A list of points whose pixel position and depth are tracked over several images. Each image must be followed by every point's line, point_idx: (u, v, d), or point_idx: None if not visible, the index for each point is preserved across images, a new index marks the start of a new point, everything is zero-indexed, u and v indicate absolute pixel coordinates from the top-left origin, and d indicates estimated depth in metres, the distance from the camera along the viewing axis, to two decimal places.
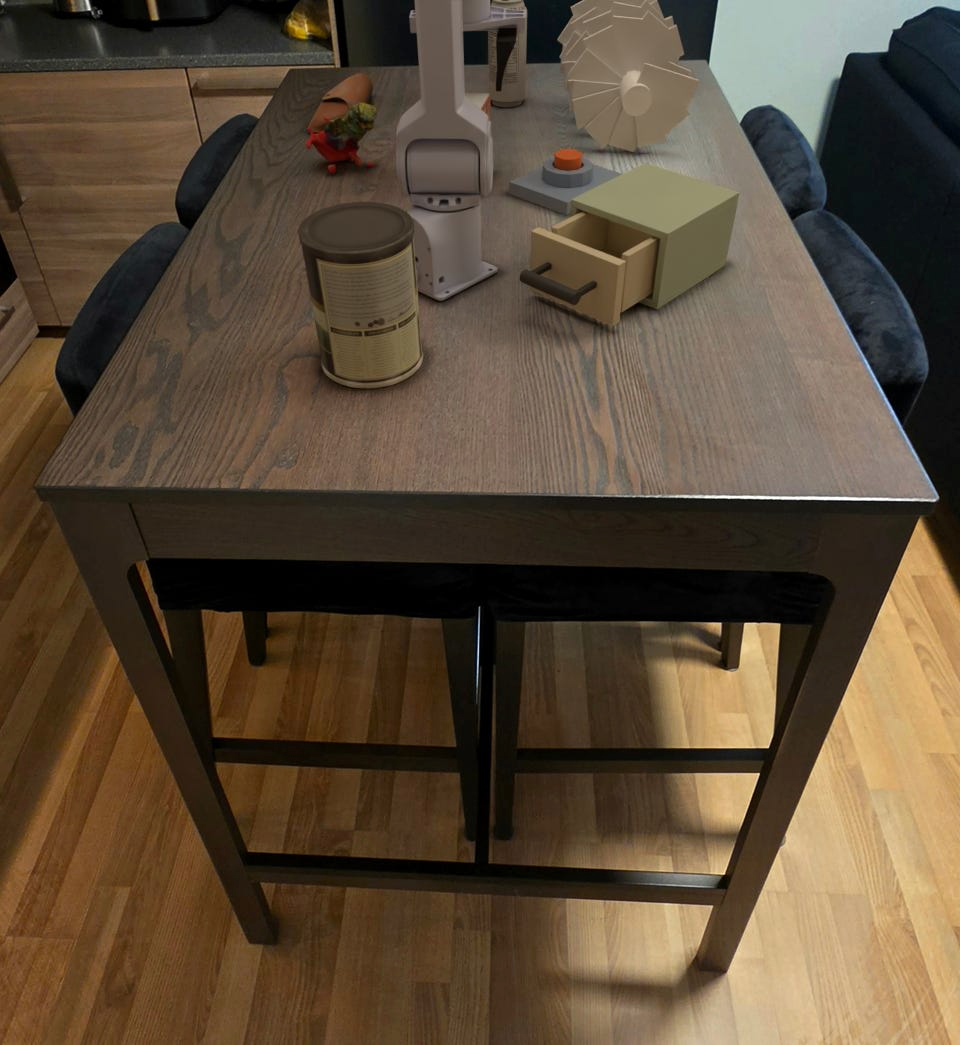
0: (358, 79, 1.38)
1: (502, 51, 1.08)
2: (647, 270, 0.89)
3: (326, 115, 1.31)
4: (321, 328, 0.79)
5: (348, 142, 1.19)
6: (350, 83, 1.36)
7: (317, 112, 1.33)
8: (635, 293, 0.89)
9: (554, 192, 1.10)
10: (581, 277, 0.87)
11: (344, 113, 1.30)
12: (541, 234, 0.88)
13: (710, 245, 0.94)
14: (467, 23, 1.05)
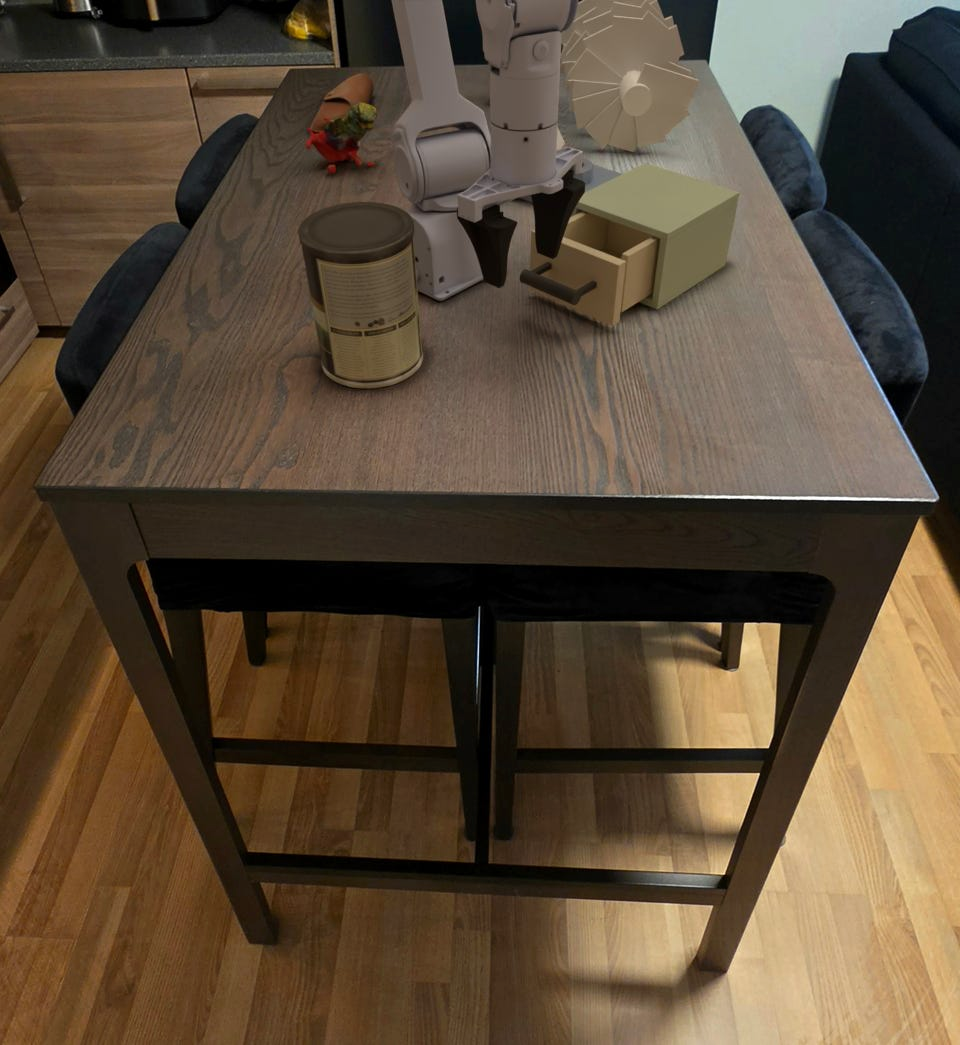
0: (359, 79, 1.38)
1: None
2: (647, 270, 0.89)
3: (328, 115, 1.31)
4: (321, 328, 0.79)
5: (348, 142, 1.19)
6: (351, 83, 1.36)
7: (319, 112, 1.33)
8: (635, 293, 0.89)
9: None
10: (581, 277, 0.87)
11: None
12: None
13: (710, 245, 0.94)
14: None
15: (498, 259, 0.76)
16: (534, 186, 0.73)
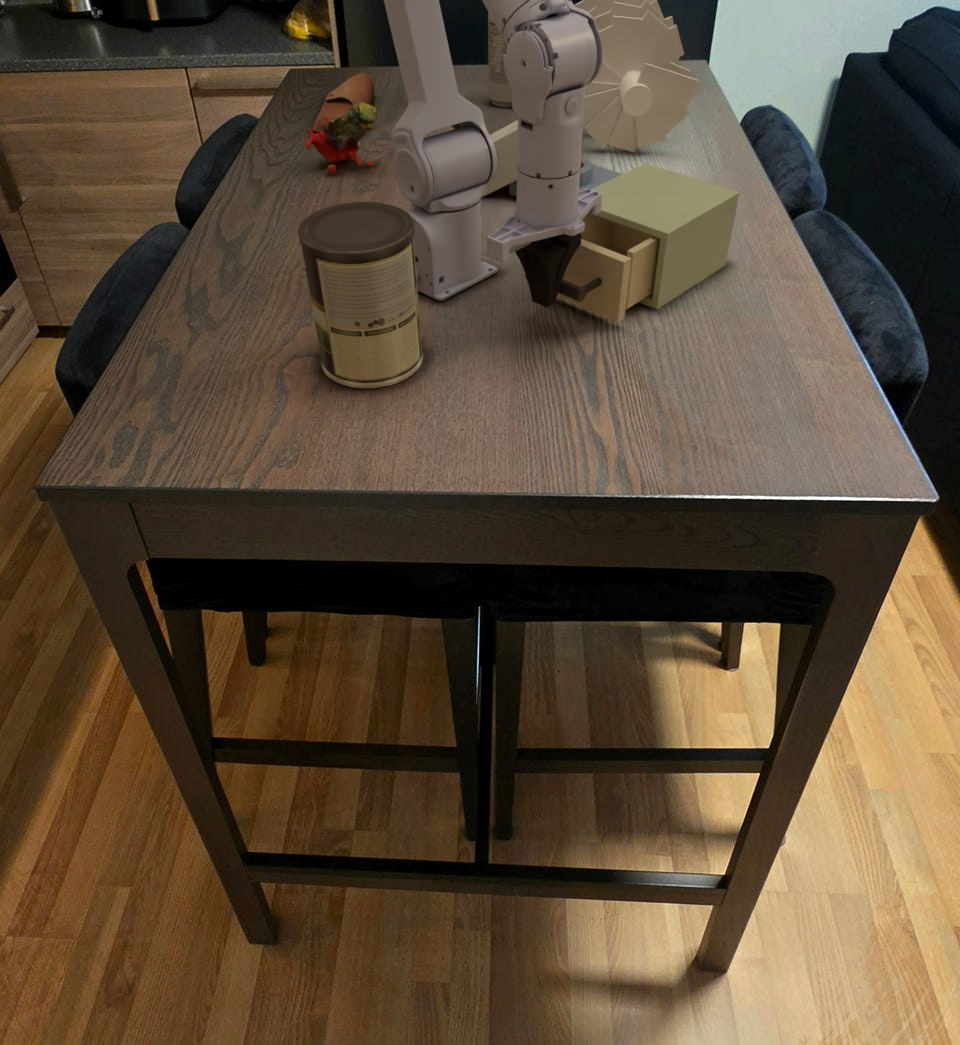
0: (361, 79, 1.38)
1: None
2: (652, 267, 0.89)
3: (331, 115, 1.31)
4: (321, 328, 0.79)
5: (348, 142, 1.19)
6: (353, 83, 1.36)
7: (321, 112, 1.33)
8: (640, 290, 0.90)
9: None
10: (586, 274, 0.88)
11: None
12: None
13: (710, 245, 0.94)
14: None
15: (547, 282, 0.83)
16: (557, 228, 0.78)
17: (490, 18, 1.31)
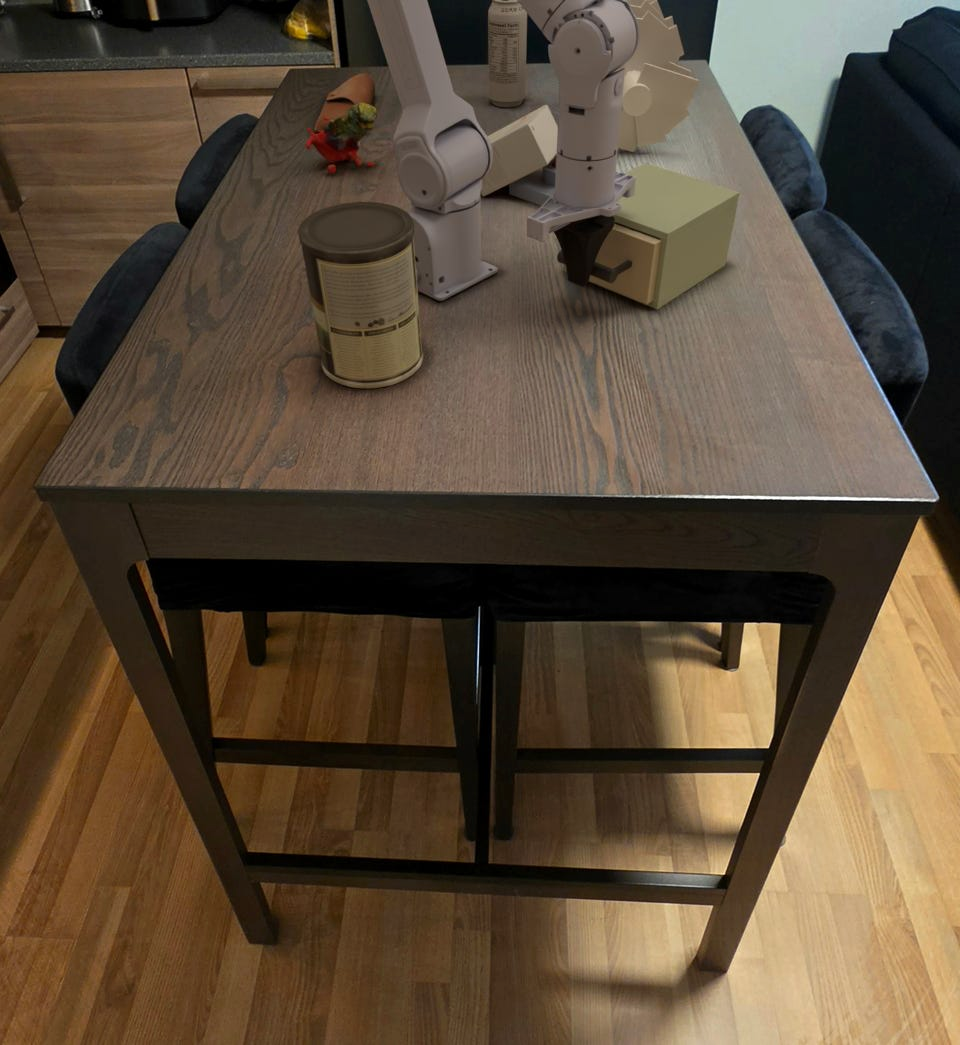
0: (362, 79, 1.38)
1: None
2: None
3: (332, 115, 1.31)
4: (321, 328, 0.79)
5: (348, 142, 1.19)
6: (354, 83, 1.36)
7: (323, 112, 1.33)
8: None
9: None
10: (617, 257, 0.90)
11: None
12: None
13: (710, 245, 0.94)
14: None
15: (585, 261, 0.86)
16: (595, 209, 0.81)
17: (490, 18, 1.31)
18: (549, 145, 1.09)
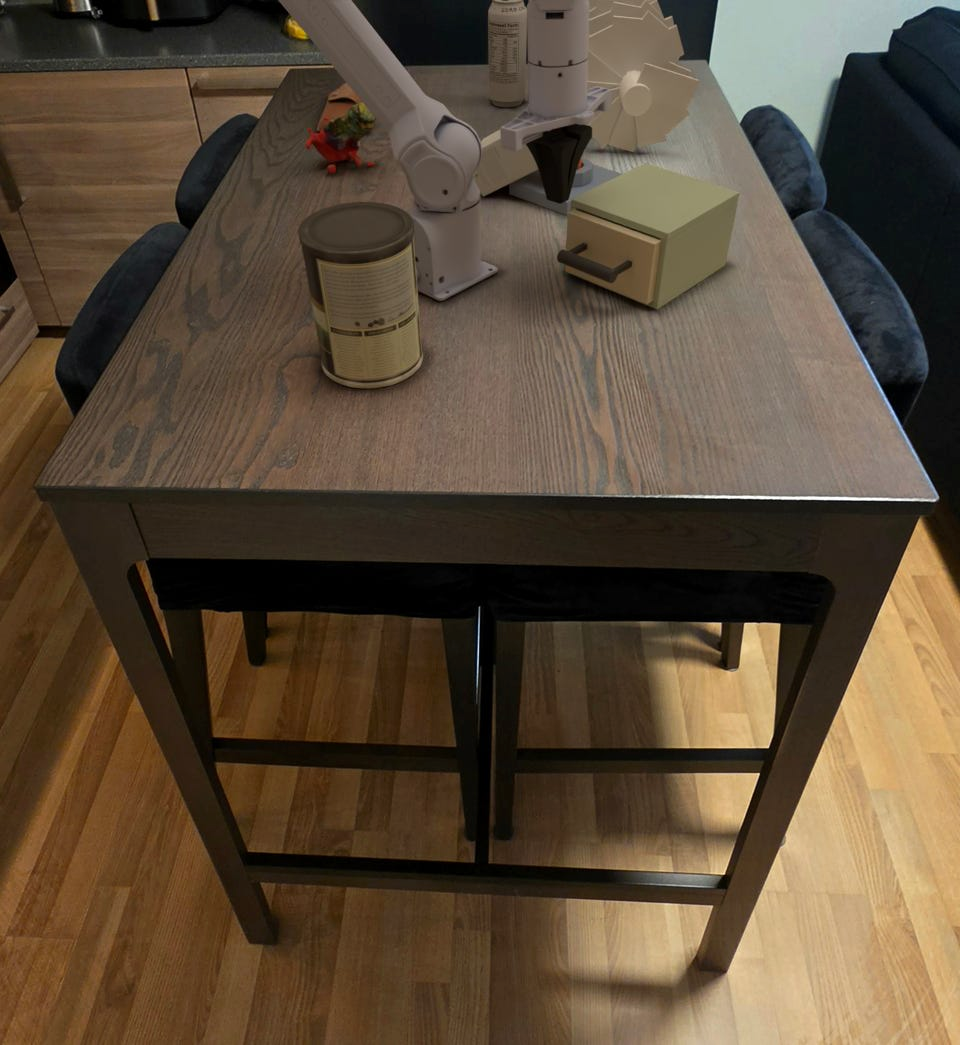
0: None
1: None
2: None
3: (335, 115, 1.31)
4: (321, 328, 0.79)
5: (348, 142, 1.19)
6: None
7: (325, 113, 1.33)
8: None
9: None
10: (617, 257, 0.90)
11: None
12: (578, 215, 0.91)
13: (710, 245, 0.94)
14: None
15: (560, 176, 0.87)
16: (568, 118, 0.82)
17: (490, 18, 1.31)
18: None
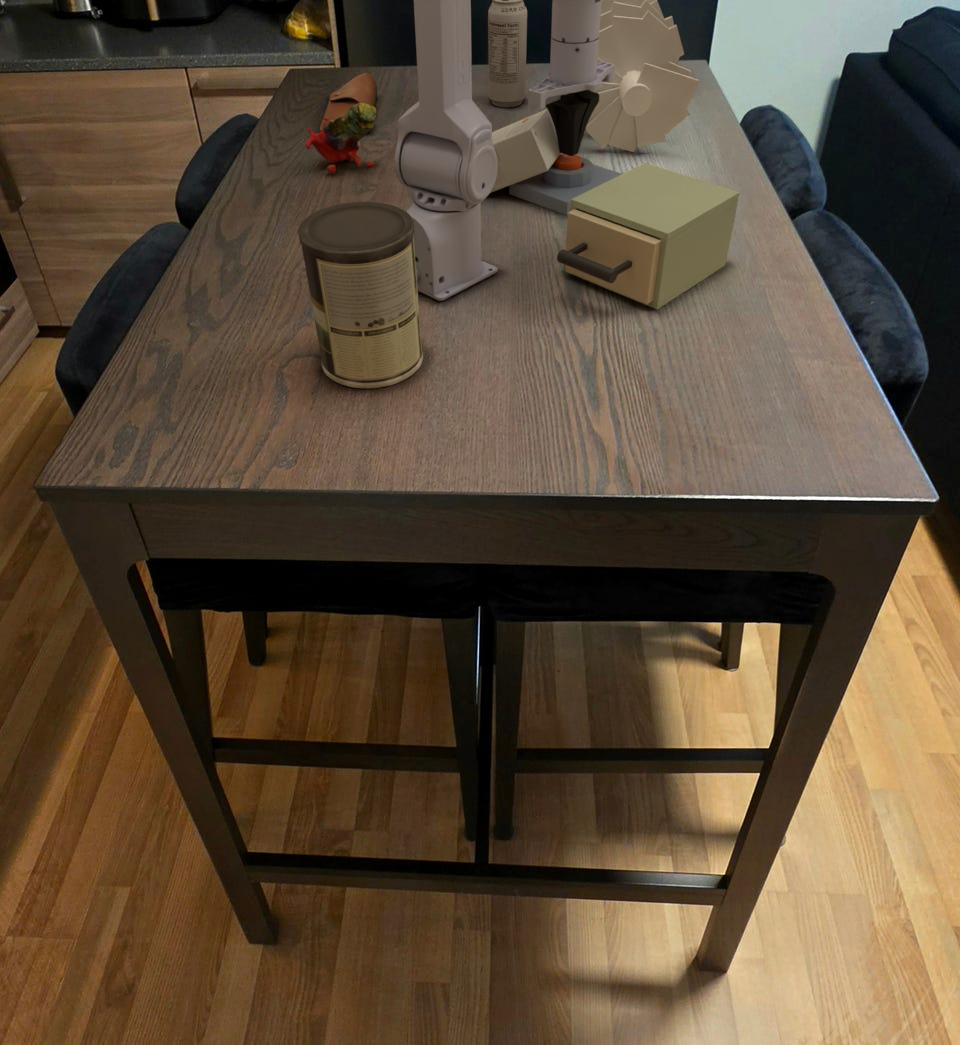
0: (364, 79, 1.38)
1: None
2: None
3: (338, 115, 1.31)
4: (321, 328, 0.79)
5: (347, 142, 1.19)
6: (357, 83, 1.36)
7: (328, 113, 1.33)
8: None
9: (554, 192, 1.10)
10: (617, 257, 0.90)
11: None
12: (578, 215, 0.91)
13: (710, 245, 0.94)
14: None
15: (572, 132, 1.08)
16: (581, 85, 1.03)
17: (490, 18, 1.31)
18: (550, 151, 1.09)
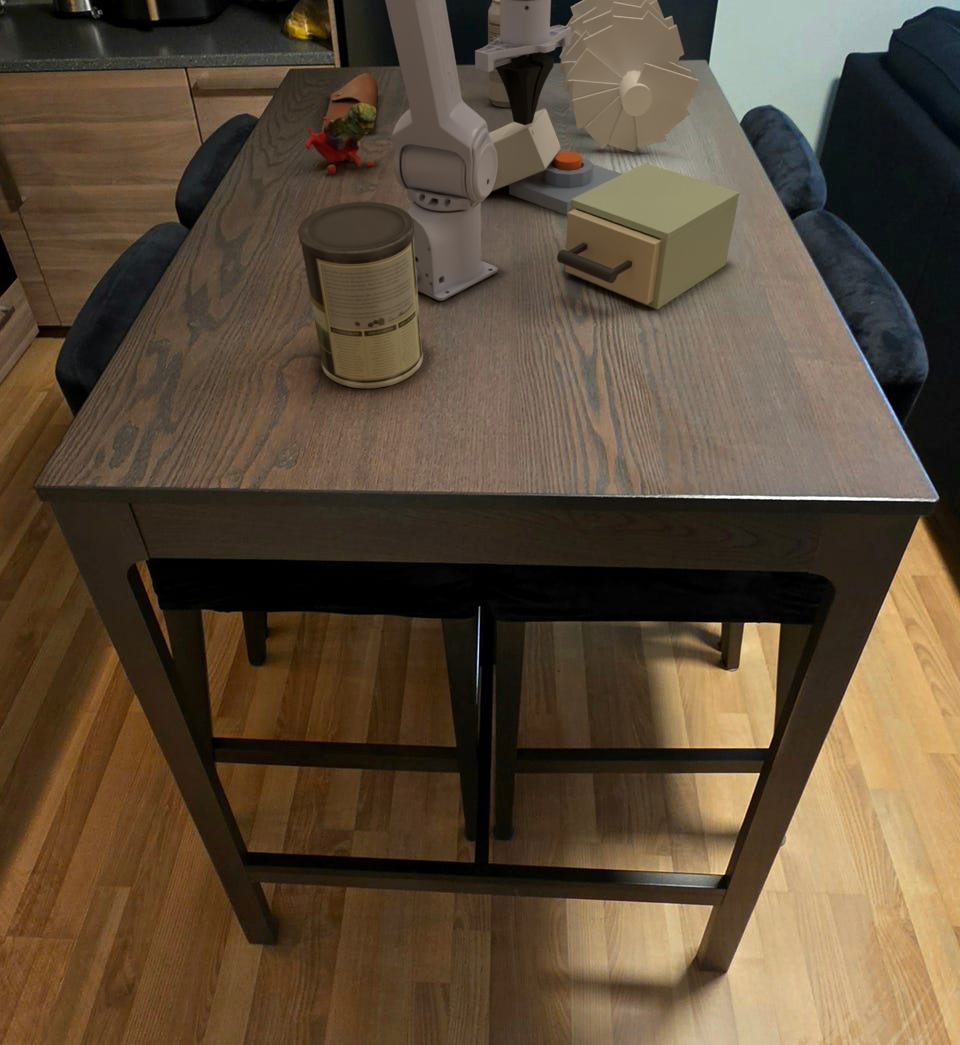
0: (365, 79, 1.38)
1: None
2: None
3: (340, 115, 1.31)
4: (321, 328, 0.79)
5: (347, 142, 1.19)
6: (358, 83, 1.36)
7: (329, 113, 1.33)
8: None
9: (554, 192, 1.10)
10: (617, 257, 0.90)
11: None
12: (578, 215, 0.91)
13: (710, 245, 0.94)
14: None
15: (525, 99, 1.01)
16: (533, 46, 0.96)
17: (490, 18, 1.31)
18: (547, 150, 1.09)
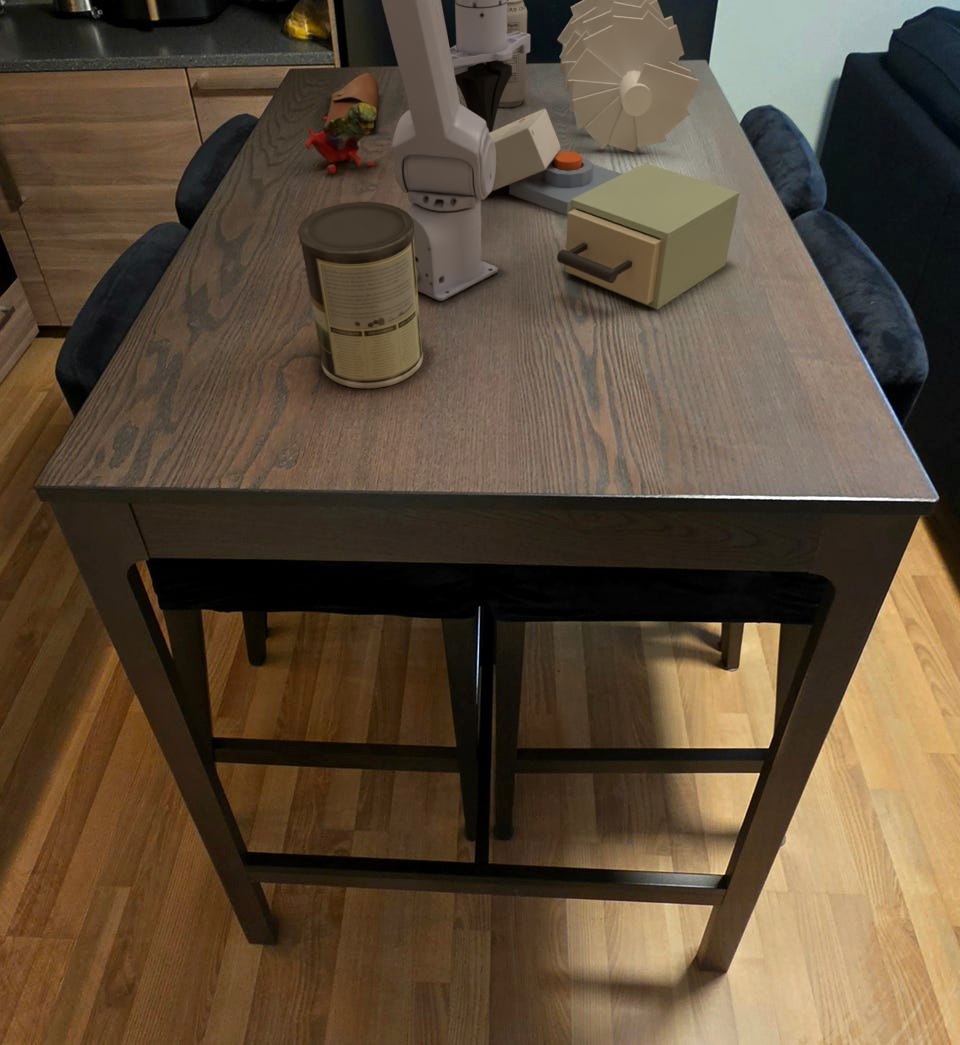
0: (366, 79, 1.38)
1: None
2: None
3: (342, 115, 1.31)
4: (321, 328, 0.79)
5: (347, 142, 1.19)
6: (360, 83, 1.36)
7: (331, 113, 1.33)
8: None
9: (554, 192, 1.10)
10: (617, 257, 0.90)
11: None
12: (578, 215, 0.91)
13: (710, 245, 0.94)
14: None
15: (483, 108, 0.99)
16: (489, 54, 0.94)
17: None
18: (547, 150, 1.09)
